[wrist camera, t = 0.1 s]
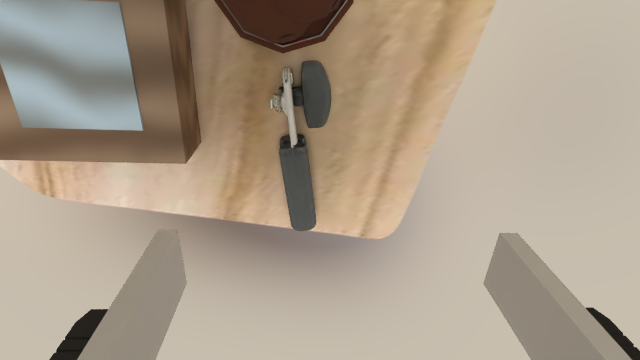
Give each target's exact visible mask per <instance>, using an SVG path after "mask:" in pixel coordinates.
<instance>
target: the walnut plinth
mask: <svg viewBox="0 0 640 360" xmlns="http://www.w3.org/2000/svg"><path fill="white" fill-rule="evenodd" d="M200 143H201V139H200V130H199V121H198V112H197V103H196V95H195V86H194V77H193V68H192V59H191V50H190V41H189V33H188V24H187V15H186V6H185V0H0V160H36V161H84V162H131V163H179V164H186V163H187V161H188V160H189V159H190V157H191V156H192V154H193V153H194V151H195V150H196V149H197V147H198V146H199V144H200Z"/></svg>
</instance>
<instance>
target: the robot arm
mask: <svg viewBox="0 0 640 360" xmlns="http://www.w3.org/2000/svg"><path fill="white" fill-rule="evenodd" d="M186 284H187V281H186V275H185V270H184V263H183V257H182V251H181V245H180V239H179V232H178V230H158V231H157V233H156V234H155V236H154V237H153V239H152V240H151V242H150V244H149V245H148V247H147V248H146V250H145V252H144V253H143V255H142V256H141V258H140V260H139V261H138V263H137V264H136V266H135V268H134V269H133V271H132V273H131V274H130V276H129V278H128V279H127V280H126V282H125V284H124V285H123V287H122V289H121V290H120V292H119V293H118V295H117V297H116V298H115V300H114V302H113V303H112V305H111V306H110V308H109V309H103V310H101V309H96V310H93V309H91V310H90V311H89V312H88V313H86V314H85V315H84V316H83V317H82V318H81V319H79V320H78V321H77V322H76V323H75V324H74V326H73V327H72V328H71V330H70V332H69V333H68V334H67V336H66V337H65V340H63V341H62V343H61V344H60V346H59V347H58V348H57V351H56V353H54V354H53V355H52V357H51V358H50V360H155V359H156V357H157V355H158V352H159V350H160V347H161V345H162V342H163V340H164V337H165V335H166V333H167V330H168V327H169V325H170V323H171V320H172V318H173V315H174V313H175V311H176V308H177V306H178V303H179V301H180V298H181V296H182V293H183V291H184V288H185V286H186ZM484 285H485V287H486V288H487V290H488V292H489V293H490V295H491V296H492V298H493V299H494V301H495V303H496V304H497V306H498V307H499V309H500V311H501V312H502V314H503V315H504V317H505V318H506V320H507V322H508V323H509V325H510V327H511V328H512V330H513V331H514V333H515V335H516V336H517V338H518V339H519V341H520V342H521V344H522V346H523V347H524V349H525V350H526V352H527V354H528V355H529V357H530V358H531V360H640V351H639V350H638V349H637V348H636V347H634V346H633V345H634V344H633V343H632V342H631V341H630V340H629V339H628V338H627V337H626V336H623V333H622V332H621V331H620V330H619V329H618V328H617V326H616V325H615V324H614V323H613V322H612V321H611V320H610V319H608V318H607V317H605V316H604V315H603V314H601V313H600V312H598V311H597V310H595V309H594V308H585V307H584V306H583V305H582V304H581V303H580V302H579V301H578V300H577V298H576V297H575V296H574V295H573V294H572V293H571V292H570V291H569V289H568V288H567V287H566V286H565V285H564V284H563V283H562V282H561V281H560V280H559V279H558V277H557V276H556V275H555V274H554V273H553V272H552V271H551V270H550V269H549V268H548V266H547V265H546V264H545V263H544V262H543V261H542V260H541V259H540V258H539V256H538V255H537V254H536V253H535V252H534V251H533V250H532V249H531V248H530V246H529V245H528V244H527V243H526V242H525V241H524V240H523V239H522V238H521V237H520V235H519V234H518V233H500V234H499V237H498V240H497V243H496V246H495V249H494V252H493V256H492V258H491V262H490V265H489V268H488V271H487V274H486V277H485V280H484Z"/></svg>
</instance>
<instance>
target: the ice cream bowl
mask: <svg viewBox="0 0 640 360" xmlns="http://www.w3.org/2000/svg"><path fill="white" fill-rule="evenodd" d="M215 2H216V3H217V5H218V6H219V7H220V9H221V10H222V12H223V13H224V14H225V16H226V17H227V19H228V20H229V21H230V23H231V24H232V26H233V27H234V28H235V30H236V31H237V33H238V34H239V35H240V37H242V38H244V39H247V40H250V41H252V42H255V43H257V44H260V45H263V46H265V47H268V48H270V49H273V50H276V51H278V52H281V53H286V52H289V51H292V50H296V49H299V48H302V47H306V46H309V45H313V44H316V43H319V42H323V41H325V40H326V38H327V37H328V36H329V34H330V33H331V32H332V30H333V29H334V28H335V26H336V25H337V24H338V22H339V21H340V20H341V19H342V17H343V16H344V15H345V13H346V12H347V11H348V9H349V8H350V7H351V5H352V4H353V0H215Z"/></svg>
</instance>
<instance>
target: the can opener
mask: <svg viewBox="0 0 640 360" xmlns="http://www.w3.org/2000/svg"><path fill="white" fill-rule="evenodd" d="M282 80H283V86H282V87H280V88H279V95H277V94H276V93H274V95H273V100H272V99H270V107H271V109H272V106H274V107H276V111H278V112H280V111H281V110H283V111H284V113H285V114H286V115H287V116H288V124H289V133H290V135H288V136H284V137H282V138H281V139H280V149H279V154H280V160H281V166H282V172H283V178H284V184H285V190H286V196H287V202H288V208H289V215H290V221H291V225H292V227H293V229H295V230H297V231H306V230H310V229H312V228H314V227H315V225H316V215H315V207H314V199H313V192H312V183H311V175H310V166H309V159H308V150H307V145H306V139H305V137H304V135H301V134H298V135H297V133H296V125H295V116H294V107H293V105H295V106H304V111H305V117H306V122H307V125H308V128H318V127H322V126H324V125H325V123H326V122H327V119H328V116H329V111H330V106H331V90H330V84H329V81H328V78H327V75H326V73H325V70H324V68H323V66H322V65H321V64H320V63H319V62H317V61H305V62H303V63H302V87H295V88H293V89H292V83H293V75H292V73H291V72H290V69H289V68H285V69H283V76H282Z"/></svg>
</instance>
